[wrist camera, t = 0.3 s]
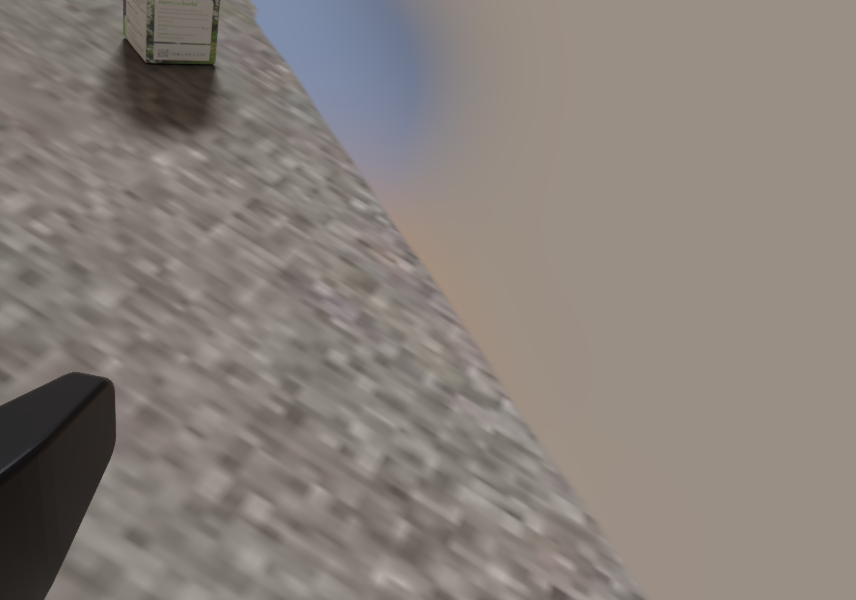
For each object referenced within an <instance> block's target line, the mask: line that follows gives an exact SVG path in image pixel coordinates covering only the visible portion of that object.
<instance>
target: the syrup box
mask: <svg viewBox="0 0 856 600" xmlns="http://www.w3.org/2000/svg"><path fill="white" fill-rule="evenodd" d="M219 10H220V0H123V24H124V25H123V32H124V35H125V37H126V39H127V40H128V41H129V43H130V44H131V45H132V46H133V48H134V49H135V50H136V51H137V53H138V54H139V55H140V56H141V57H142V59H143V60H144V61H145V62H146V63H171V64H214V63H215V61H216V47H217V35H218V22H219Z"/></svg>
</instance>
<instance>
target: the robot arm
mask: <svg viewBox="0 0 856 600" xmlns="http://www.w3.org/2000/svg"><path fill="white" fill-rule="evenodd" d="M115 441H116V414H115V388H114V385H113V382H112V381H111V380H109V379H108V378H105V377H100V376H95V375H90V374H85V373H80V372H72V373H69V374H66V375H64V376H61V377H59V378H57V379H55V380H53V381H51V382H49V383H47V384H45V385H43V386H41V387H39V388H37V389H34V390H32V391H30V392H28V393H26V394H24V395H22V396H20V397H18V398H16V399H14V400H12V401H10V402H7V403H5V404H3V405H1V406H0V600H44V599H45V597H46V595H47V594H48V592H49V590H50V588H51V586H52V584H53V582H54V580H55V578H56V576H57V574H58V572H59V570H60V568H61V566H62V563H63V561H64V559H65V557H66V555H67V553H68V550H69V548H70V546H71V544H72V542H73V539H74V537H75V535H76V533H77V531H78V529H79V526H80V524H81V522H82V520H83V518H84V515H85V513H86V511H87V509H88V507H89V505H90V502H91V500H92V498H93V496H94V494H95V491H96V489H97V487H98V485H99V483H100V480H101V478H102V476H103V474H104V472H105V470H106V467H107V465H108V463H109V461H110V458H111V456H112V453H113V450H114V446H115Z"/></svg>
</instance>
